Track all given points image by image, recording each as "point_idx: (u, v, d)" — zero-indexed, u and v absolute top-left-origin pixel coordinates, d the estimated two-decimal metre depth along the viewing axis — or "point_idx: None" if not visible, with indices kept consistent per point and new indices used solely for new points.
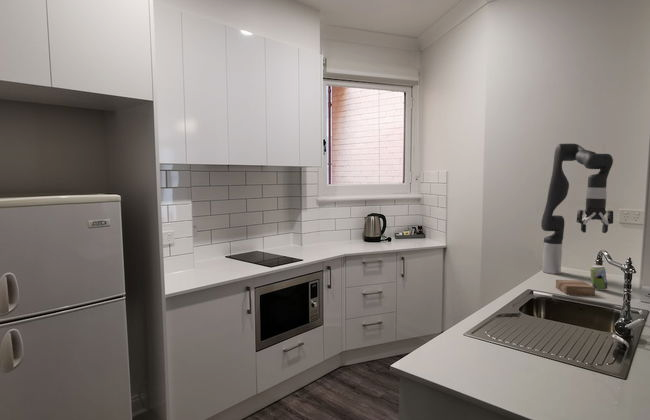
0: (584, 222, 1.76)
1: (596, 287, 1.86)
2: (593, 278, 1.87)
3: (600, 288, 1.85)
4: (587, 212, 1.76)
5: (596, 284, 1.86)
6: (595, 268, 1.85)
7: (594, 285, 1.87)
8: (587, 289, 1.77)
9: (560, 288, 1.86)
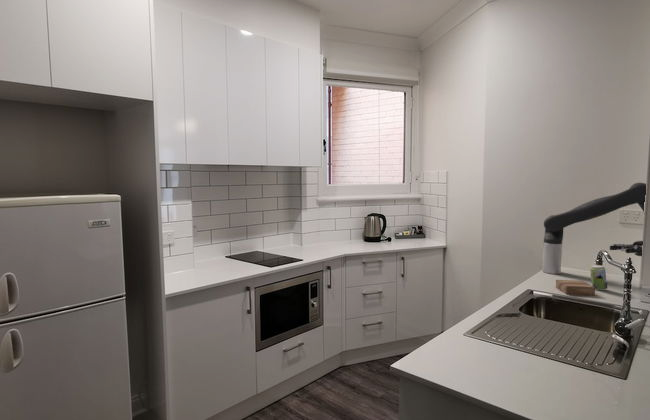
0: (635, 253, 1.84)
1: (596, 287, 1.86)
2: (593, 278, 1.87)
3: (600, 288, 1.85)
4: (641, 252, 1.86)
5: (596, 284, 1.86)
6: (595, 268, 1.85)
7: (594, 285, 1.87)
8: (587, 289, 1.77)
9: (560, 288, 1.86)
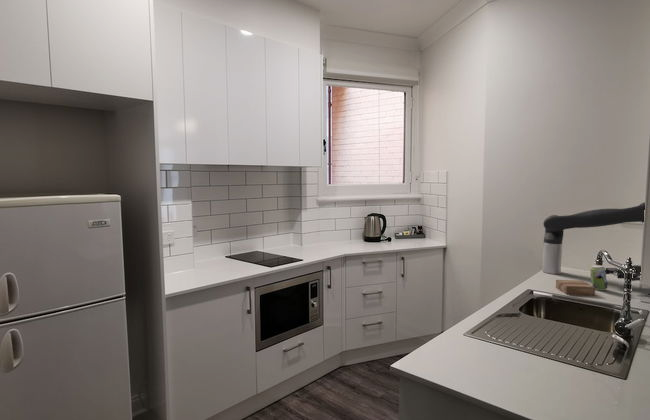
0: None
1: (596, 287, 1.86)
2: (593, 278, 1.87)
3: (600, 288, 1.85)
4: None
5: (596, 284, 1.86)
6: (595, 268, 1.85)
7: (594, 285, 1.87)
8: (587, 289, 1.77)
9: (560, 288, 1.86)
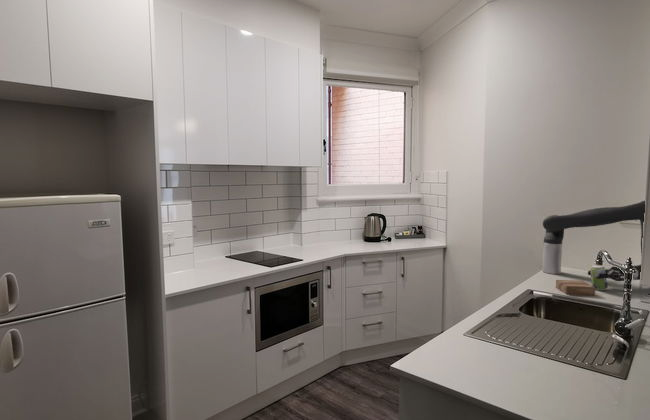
0: None
1: (596, 287, 1.86)
2: (593, 278, 1.86)
3: (600, 288, 1.85)
4: None
5: (596, 284, 1.86)
6: (595, 268, 1.85)
7: (594, 285, 1.87)
8: (587, 289, 1.77)
9: (560, 288, 1.86)
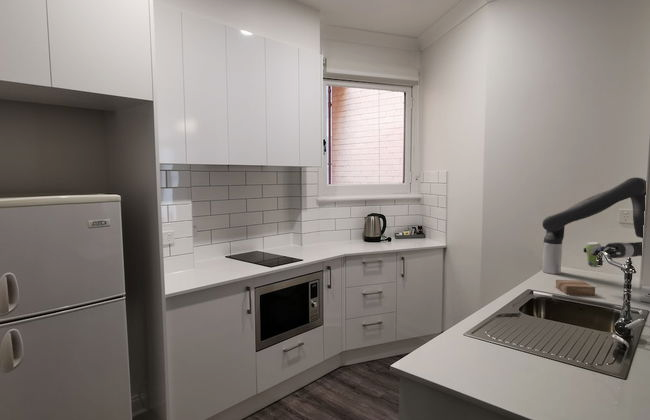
0: None
1: (592, 264, 1.84)
2: (589, 255, 1.84)
3: (596, 265, 1.83)
4: None
5: (592, 261, 1.84)
6: (591, 245, 1.83)
7: (590, 262, 1.85)
8: (587, 289, 1.77)
9: (560, 288, 1.86)
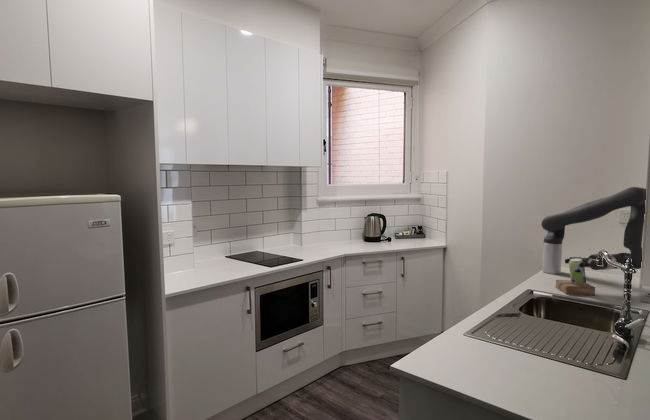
0: (589, 267, 1.79)
1: (575, 281, 1.81)
2: (572, 272, 1.82)
3: (578, 282, 1.80)
4: (596, 266, 1.81)
5: (574, 278, 1.81)
6: (573, 262, 1.81)
7: (573, 279, 1.82)
8: (587, 289, 1.77)
9: (560, 288, 1.86)
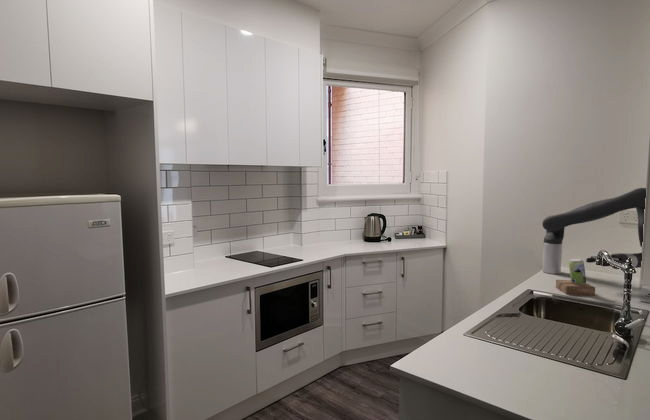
0: (611, 266, 1.81)
1: (575, 281, 1.81)
2: (572, 272, 1.82)
3: (578, 282, 1.80)
4: None
5: (574, 278, 1.81)
6: (573, 262, 1.81)
7: (573, 279, 1.82)
8: (587, 289, 1.77)
9: (560, 288, 1.86)
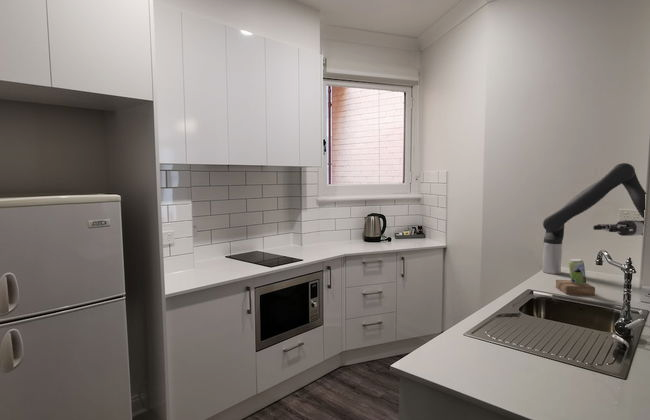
0: (618, 232, 1.82)
1: (575, 281, 1.81)
2: (572, 272, 1.82)
3: (579, 282, 1.80)
4: None
5: (574, 278, 1.81)
6: (573, 262, 1.81)
7: (573, 279, 1.82)
8: (587, 289, 1.77)
9: (560, 288, 1.86)
